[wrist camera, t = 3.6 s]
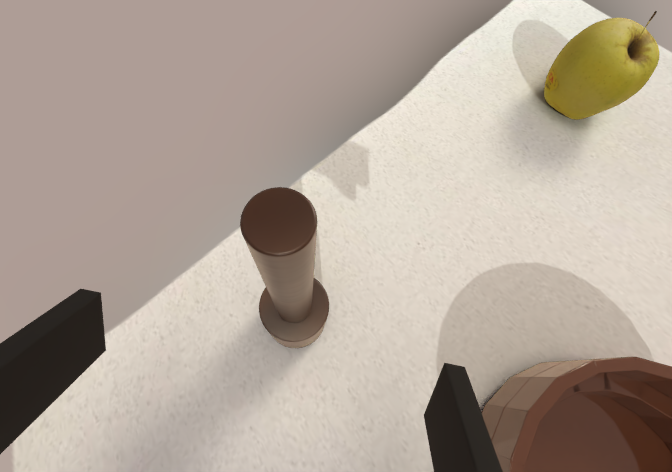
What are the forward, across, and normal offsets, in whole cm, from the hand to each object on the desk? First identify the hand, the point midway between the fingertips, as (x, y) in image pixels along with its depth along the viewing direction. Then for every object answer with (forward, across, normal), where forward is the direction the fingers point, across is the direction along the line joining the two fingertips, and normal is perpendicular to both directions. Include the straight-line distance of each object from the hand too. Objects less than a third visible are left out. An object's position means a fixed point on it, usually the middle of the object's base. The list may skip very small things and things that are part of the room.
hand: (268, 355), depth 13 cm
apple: (+31, +23, +13) cm, 41 cm away
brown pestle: (+12, 0, -7) cm, 13 cm away
